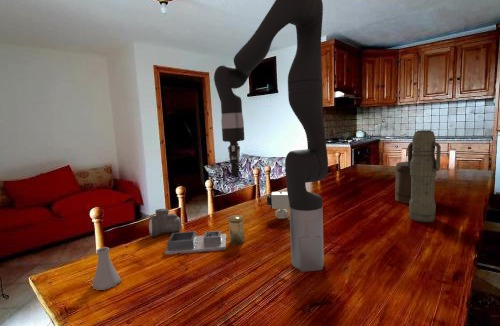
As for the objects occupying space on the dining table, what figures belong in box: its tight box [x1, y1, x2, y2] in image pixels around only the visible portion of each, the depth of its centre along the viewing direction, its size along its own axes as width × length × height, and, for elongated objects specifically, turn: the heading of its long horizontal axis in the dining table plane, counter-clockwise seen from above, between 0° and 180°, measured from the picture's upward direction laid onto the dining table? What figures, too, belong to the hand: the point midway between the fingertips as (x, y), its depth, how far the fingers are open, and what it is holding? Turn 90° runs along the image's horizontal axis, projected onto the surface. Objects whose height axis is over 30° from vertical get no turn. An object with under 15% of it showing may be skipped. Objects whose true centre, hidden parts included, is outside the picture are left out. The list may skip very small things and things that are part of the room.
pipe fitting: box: [148, 208, 182, 238], centre depth 115 cm, size 12×8×10 cm
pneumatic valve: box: [266, 190, 289, 220], centre depth 126 cm, size 6×12×12 cm, turn 78°
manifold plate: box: [164, 230, 227, 255], centre depth 102 cm, size 12×20×4 cm, turn 94°
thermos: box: [407, 129, 442, 223], centre depth 114 cm, size 9×12×35 cm
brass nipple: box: [227, 214, 245, 246], centre depth 102 cm, size 6×6×9 cm
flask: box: [92, 246, 122, 291], centre depth 79 cm, size 7×7×10 cm
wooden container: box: [394, 161, 411, 205], centre depth 140 cm, size 15×15×22 cm
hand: (235, 173), depth 101 cm, fingers open, 8 cm apart
